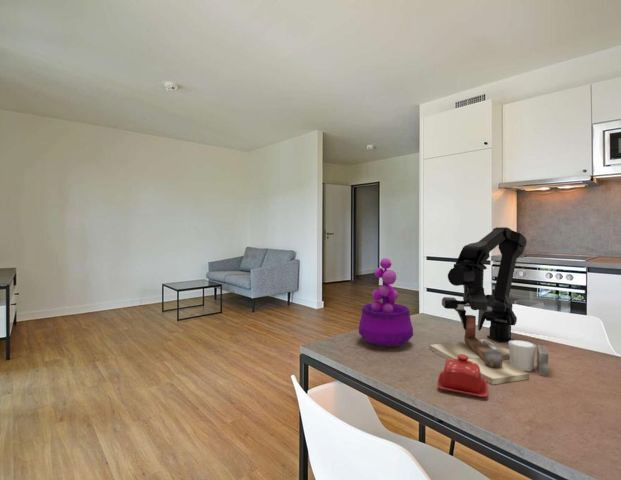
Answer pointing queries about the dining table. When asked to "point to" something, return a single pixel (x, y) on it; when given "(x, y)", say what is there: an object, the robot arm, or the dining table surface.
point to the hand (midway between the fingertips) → (471, 329)
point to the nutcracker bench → (487, 372)
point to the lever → (481, 344)
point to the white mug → (522, 354)
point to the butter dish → (462, 377)
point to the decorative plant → (385, 313)
